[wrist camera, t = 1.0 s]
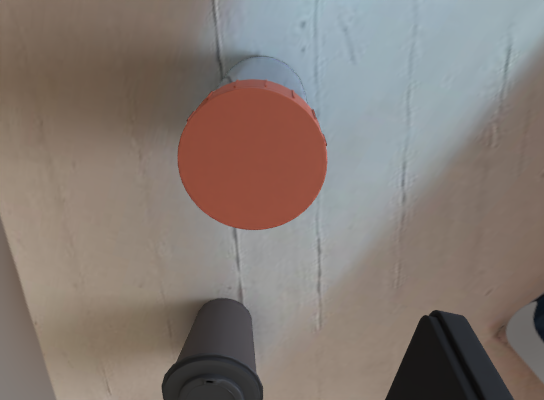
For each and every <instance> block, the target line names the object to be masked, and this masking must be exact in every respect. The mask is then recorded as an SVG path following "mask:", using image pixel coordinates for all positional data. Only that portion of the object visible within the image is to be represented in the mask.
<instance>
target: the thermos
mask: <svg viewBox="0 0 544 400" xmlns="http://www.w3.org/2000/svg"><path fill="white" fill-rule="evenodd" d="M248 79H258V80H265V79H267V81H271V82H274V83H277V84H280V85H282V86H284V87H287V88H289V89H290V90H292V89H293V90H294V92H295V93H296V94H297V95H299V96H300V97H301V98H302V99H303V100H304V101H305V102H306V103H307V104H308V102H307V99H306V95H305V92H304V88H303V85H302V83H301V81H300V78H299V77H298V75H297V74H296V73H295V72H294V70H293V69H292V68H291V67H289V66H288V65H287V64H285V63H284V62H282V61H280V60H278V59H275V58H272V57H267V56H255V57H250V58H247V59H244V60H242V61H240V62H239V63H237V64H236V65H234V66H233V67H232V68H231V69H230V70H229V71H228V72H227V74H226V75H225V76H224V78H223V80H222V81H221V83H220V84H219V86H218V87H217V89H219V88H221V87H222V86H224V85H227V84H230V83H232V82H236V80H239V81H240V80H248ZM217 89H216V90H217Z"/></svg>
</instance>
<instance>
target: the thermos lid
mask: <svg viewBox="0 0 544 400" xmlns="http://www.w3.org/2000/svg"><path fill="white" fill-rule="evenodd" d="M326 146H327V143H326V140H325V137H324V134H322V132H321V129H320V126H319V123H318V120H317V118H316V116H315V112H314V110H313V109H312V110H311V108H310V107H309V106H308V104H307V103H306V102H305V101H304V100H303V99H302V98H301V97H300V96H299V95H297V94H296V93H295V92H294V90H293V89H292V90H290V89H289V88H287V87H284V86H282V85H280V84H277V83H274V82H271V81H267V79H265V80H258V79H248V80H240V81H239V80H236V82H232V83H230V84H227V85H224V86H222V87H221V88H219V89H217V90H215V91H214V92H213V91H211V92H210V94H209V95H208V97H207V98H206V99H204V100H203V101H202V103H201V104H200V105H199V107H198V108H197V109H196V111H195V112H194V111H193V112H192V114H191V115H190V117H189V118H188V119H187V124H186V126H185V128H184V130H183V132H182V135H181V138H180V142H179V146H178V168H179V173H180V177H181V180H182V183H183V185H184V187H185V189H186V191H187V193H188V194H189V196H190V197H191V199H192V200H193V201H194V202H195V204H196V205H197V206H198V207H199V208H200V209H201V210H202V211H203V212H205V213H206V214H207V215H209V216H210V217H211V218H213V219H215V220H217V221H219V222H221V223H223V224H225V225H228V226H231V227H235V228H240V229H246V230H261V229H268V228H273V227H276V226H280V225H282V224H285V223H287V222H289V221H291V220H293V219H294V218H296V217H297V216H299V215H300V214H301V213H302V212H304V211H305V210H306V209H307V208H308V207H309V206H310V205H311V204H312V202H313V201H314V200H315V198H316V197H317V195H318V193H319V192H320V190H321V187H322V185H323V182H324V179H325V175H326V171H327V150H326Z"/></svg>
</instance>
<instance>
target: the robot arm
mask: <svg viewBox="0 0 544 400" xmlns="http://www.w3.org/2000/svg"><path fill="white" fill-rule="evenodd" d="M385 400H514V399H513V397H512V395H511V394H510V392H509V390H508V389H507V387H506V385H505V384H504V382H503V380H502V379H501V377H500V375H499V373H498V372H497V370H496V368H495V367H494V365H493V363H492V362H491V360H490V358H489V357H488V355H487V353H486V351H485V350H484V348H483V346H482V345H481V343H480V341H479V340H478V338H477V336H476V334H475V333H474V331H473V329H472V328H471V326H470V324H469V323H468V321H467V319H466V318H465V317H464V316H462V315H458V314H453V313H448V312H443V311H438V310H435V311H432V312H431V313H430V315H429V316H427V315H425V316H423V317H422V318H421V319H420V321H419V323H418V325H417V328H416V330H415V332H414V335H413V337H412V339H411V342H410V344H409V346H408V348H407V351H406V353H405V355H404V358H403V360H402V362H401V365H400V367H399V369H398V372H397V374H396V376H395V378H394V381H393V383H392V385H391V388H390V390H389V392H388V395H387V397H386V399H385Z"/></svg>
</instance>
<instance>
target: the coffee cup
mask: <svg viewBox="0 0 544 400" xmlns="http://www.w3.org/2000/svg"><path fill="white" fill-rule="evenodd" d="M162 393H163V399H164V400H263V386H262V384H261V381H260V379H259V377H258V375H257V374H256V364H255V353H254V342H253V331H252V320H251V316H250V313H249V311H248V310H247V309H246V308H245V307H244V306H243V305H242V304H240V303H239V302H237V301H234V300H231V299H215V300H212V301H209V302H208V303H206V304H204V305H203V306H202V308H201V309H200V310H199V312H198V314H197V316H196V318H195V321H194V323H193V325H192V327H191V330H190V332H189V334H188V337H187V339H186V341H185V343H184V346H183V348H182V350H181V353H180V355H179V357H178V359H177V362H176V363H175V364H173V365H172V367H171V368H170V369H169V370H168V372H167V373H166V374H165V376H164V379H163V383H162Z"/></svg>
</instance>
